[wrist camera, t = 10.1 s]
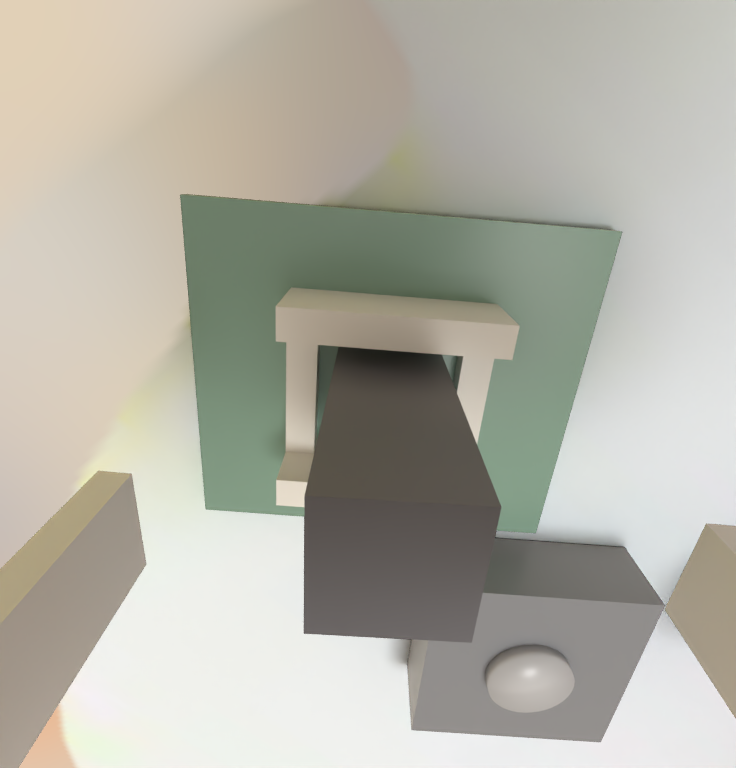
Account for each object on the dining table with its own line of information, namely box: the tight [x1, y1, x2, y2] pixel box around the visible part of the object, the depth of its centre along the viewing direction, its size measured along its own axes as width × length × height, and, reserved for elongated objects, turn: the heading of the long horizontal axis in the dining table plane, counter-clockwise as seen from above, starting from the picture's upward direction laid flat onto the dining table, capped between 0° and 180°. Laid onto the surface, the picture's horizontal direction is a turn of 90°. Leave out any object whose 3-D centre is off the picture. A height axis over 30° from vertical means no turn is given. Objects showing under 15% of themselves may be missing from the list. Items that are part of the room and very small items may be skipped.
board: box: [180, 194, 622, 533], centre depth 18 cm, size 16×14×4 cm
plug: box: [304, 347, 502, 643], centre depth 15 cm, size 4×5×10 cm
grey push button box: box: [407, 538, 665, 742], centre depth 23 cm, size 10×10×4 cm
